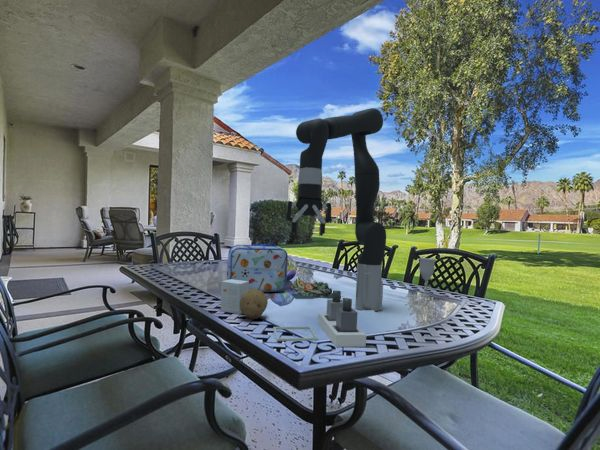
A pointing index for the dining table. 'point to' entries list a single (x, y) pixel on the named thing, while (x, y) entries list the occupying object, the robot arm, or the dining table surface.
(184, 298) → the dining table surface
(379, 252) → the robot arm
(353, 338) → the cream socket block
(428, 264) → the chalice
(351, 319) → the plug
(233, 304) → the small box
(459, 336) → the dining table surface
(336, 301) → the seated twin plug
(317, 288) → the plated dish
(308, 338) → the tray
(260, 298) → the natural sponge
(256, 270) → the lunch box
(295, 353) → the dining table surface
